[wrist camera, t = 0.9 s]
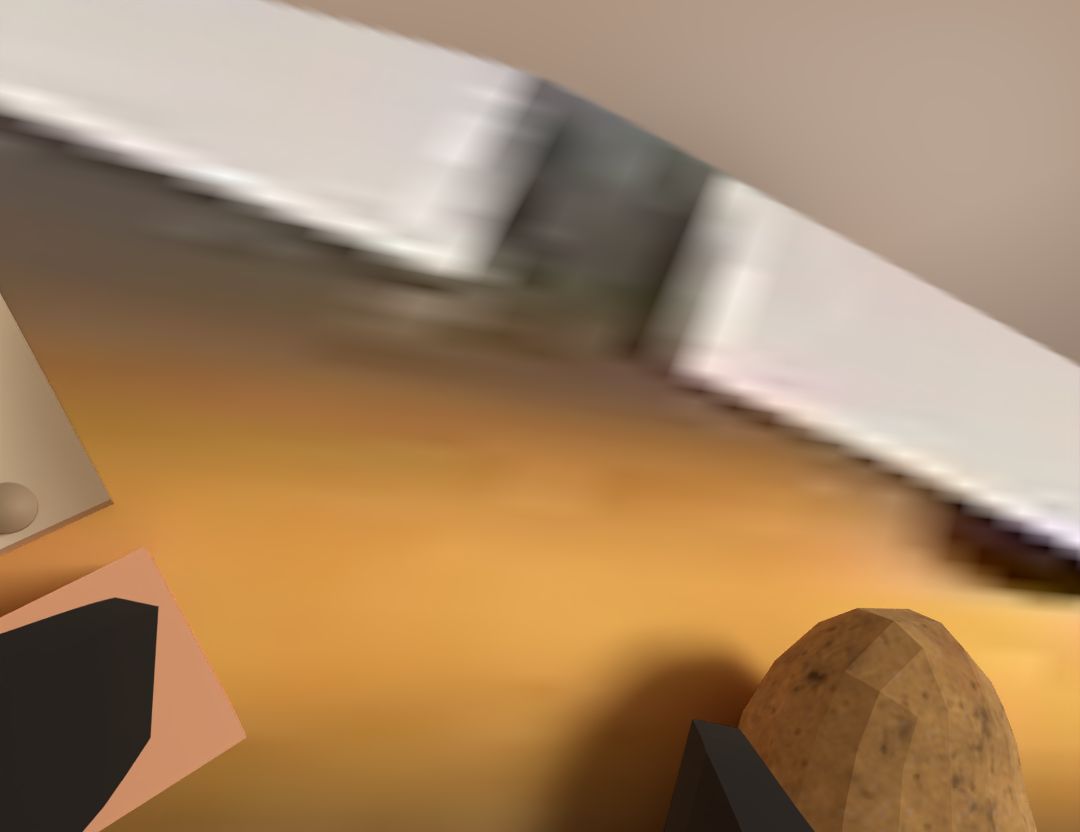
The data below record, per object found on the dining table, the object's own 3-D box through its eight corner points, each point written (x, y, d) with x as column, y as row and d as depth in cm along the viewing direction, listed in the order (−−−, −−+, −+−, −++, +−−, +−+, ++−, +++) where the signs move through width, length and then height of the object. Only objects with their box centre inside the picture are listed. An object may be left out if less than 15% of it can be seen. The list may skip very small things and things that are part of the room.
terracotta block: (56, 813, 19) (11, 887, 14) (-31, 652, 19) (-106, 669, 14) (232, 706, 21) (247, 737, 16) (153, 560, 21) (144, 546, 16)
